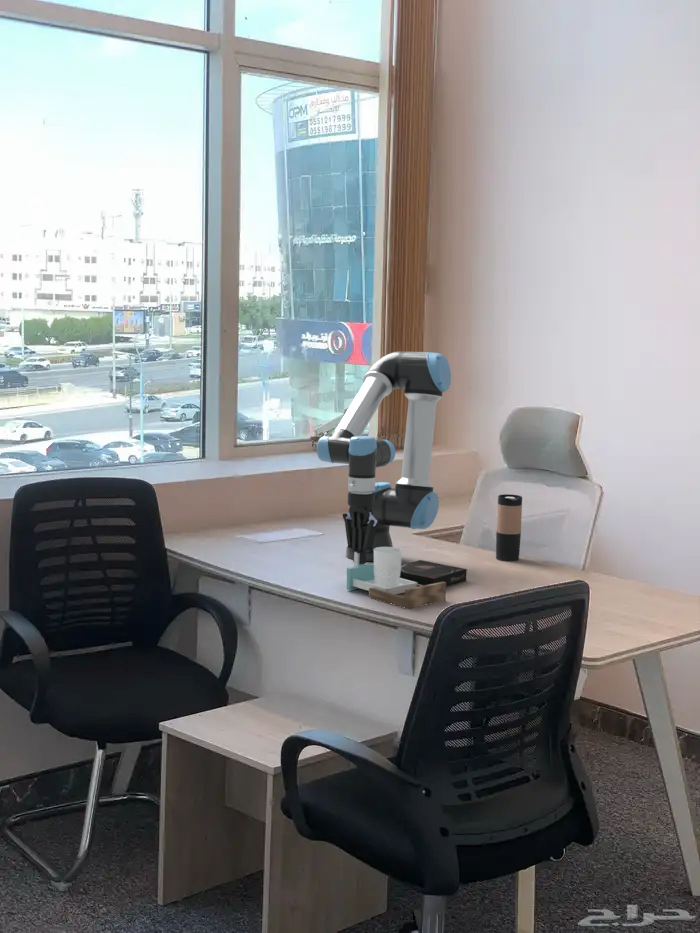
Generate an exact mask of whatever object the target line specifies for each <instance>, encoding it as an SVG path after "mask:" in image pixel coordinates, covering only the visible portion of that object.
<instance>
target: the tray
mask: <svg viewBox="0 0 700 933" xmlns="http://www.w3.org/2000/svg"><path fill="white" fill-rule="evenodd" d="M374 577H375V576H374V562H373V563H368V564H365V565H362V566H356V567H354V566H352V567H347V568H346V590H348V591H353V590H358V589H361V590H364V591H368V592H369V588H374V589H377V590H381V591H384V592H388V593H391V594H399V593H404V592H405V589H409V588H414V587H418V583H417V582H413V581H410V580H406V579H402V578H399V586H394V587H389V588H386V587H383V586H379V585H376V584H375V578H374Z"/></svg>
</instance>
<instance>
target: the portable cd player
mask: <svg viewBox="0 0 700 933" xmlns="http://www.w3.org/2000/svg"><path fill="white" fill-rule="evenodd" d="M400 578H402V579H406V580H410V581H413V582H417V583H418V584H420V585H429V584H434V583H439V582H446V588H449V587H451V586H454V585H458V584H461V583H464V582H467V568H463V567H460V566H459V567H457V566H453V565H447V564H442V563H436V562H432V561H427V560H422V559H418V560H416V561H411V562H407V563H405V564H401V572H400Z"/></svg>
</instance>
